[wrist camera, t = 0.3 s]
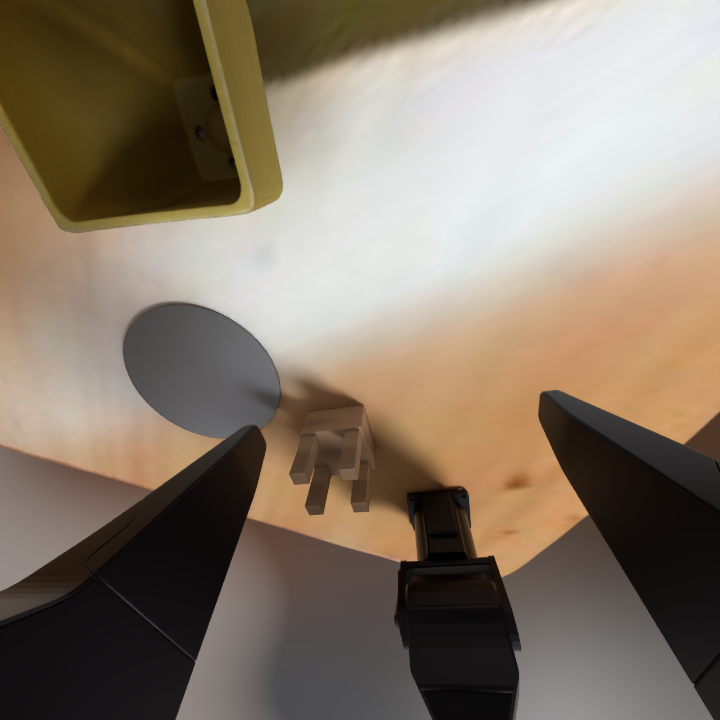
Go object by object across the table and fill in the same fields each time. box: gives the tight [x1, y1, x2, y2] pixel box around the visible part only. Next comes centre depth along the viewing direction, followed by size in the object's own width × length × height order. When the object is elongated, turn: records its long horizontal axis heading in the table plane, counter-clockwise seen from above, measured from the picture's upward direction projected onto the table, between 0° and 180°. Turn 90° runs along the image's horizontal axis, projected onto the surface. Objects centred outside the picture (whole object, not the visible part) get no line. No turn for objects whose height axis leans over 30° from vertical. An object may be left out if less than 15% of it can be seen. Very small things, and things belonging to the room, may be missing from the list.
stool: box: [289, 405, 376, 515], centre depth 25 cm, size 6×6×7 cm
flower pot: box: [0, 0, 283, 233], centre depth 13 cm, size 9×9×9 cm
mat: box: [123, 305, 280, 439], centre depth 26 cm, size 14×14×1 cm
